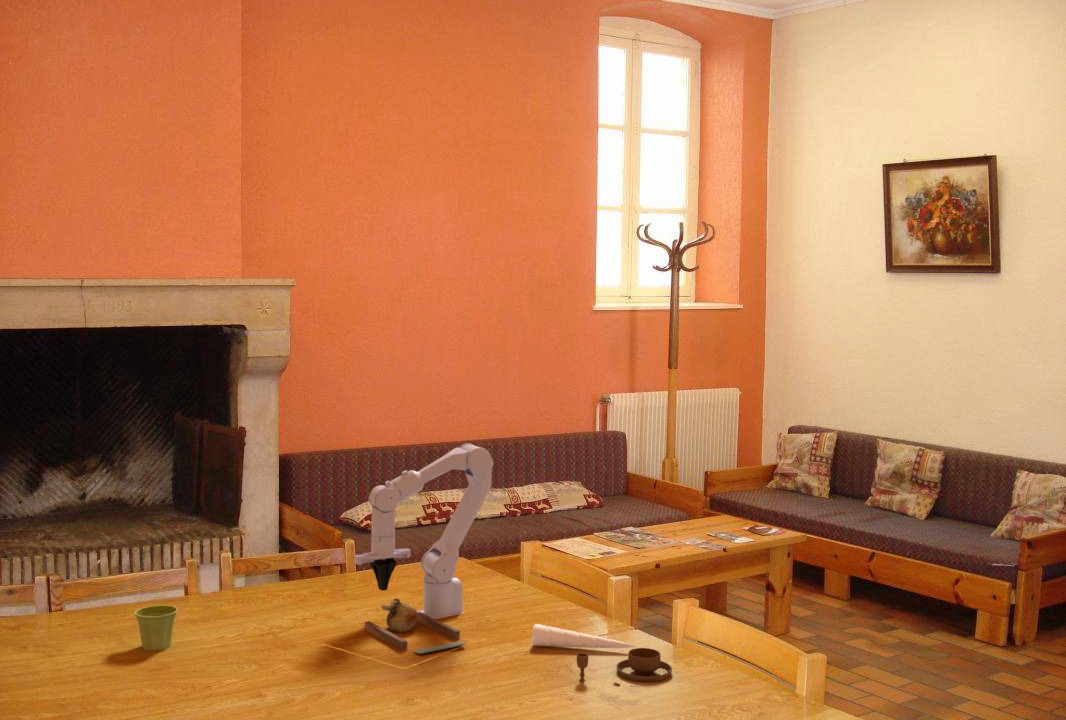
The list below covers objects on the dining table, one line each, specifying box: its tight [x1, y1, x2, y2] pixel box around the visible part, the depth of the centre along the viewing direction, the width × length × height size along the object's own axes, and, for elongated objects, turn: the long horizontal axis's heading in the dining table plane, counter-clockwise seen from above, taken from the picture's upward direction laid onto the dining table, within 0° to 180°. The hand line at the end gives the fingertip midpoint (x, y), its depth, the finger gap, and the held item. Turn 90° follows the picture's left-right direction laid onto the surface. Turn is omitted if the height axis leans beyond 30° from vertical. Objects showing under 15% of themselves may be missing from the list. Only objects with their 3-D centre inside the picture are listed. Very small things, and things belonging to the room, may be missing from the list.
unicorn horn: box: [531, 623, 636, 649], centre depth 250 cm, size 5×24×5 cm
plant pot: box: [134, 604, 179, 652], centre depth 249 cm, size 9×9×9 cm
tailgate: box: [411, 641, 467, 655], centre depth 249 cm, size 1×12×5 cm
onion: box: [381, 598, 418, 633], centre depth 263 cm, size 8×8×8 cm
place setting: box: [576, 647, 673, 688], centre depth 236 cm, size 18×20×6 cm
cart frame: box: [364, 612, 461, 652], centre depth 259 cm, size 15×18×2 cm
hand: (382, 589), depth 270 cm, fingers closed
